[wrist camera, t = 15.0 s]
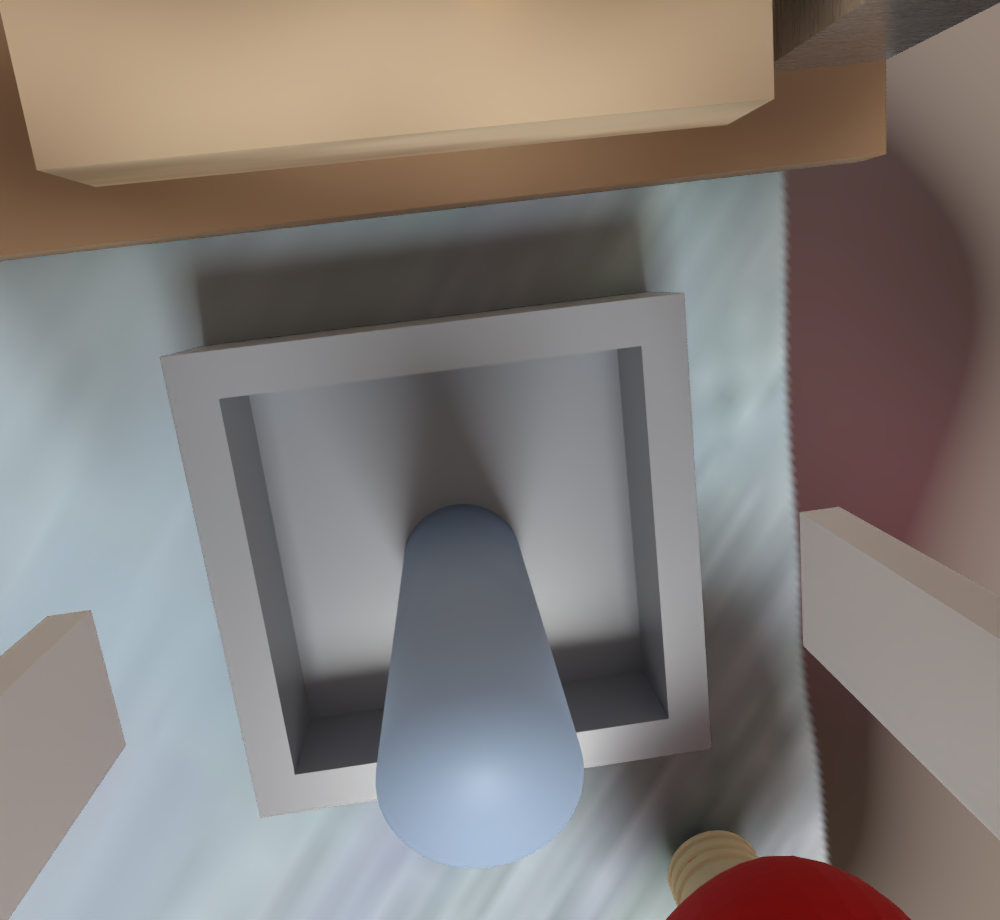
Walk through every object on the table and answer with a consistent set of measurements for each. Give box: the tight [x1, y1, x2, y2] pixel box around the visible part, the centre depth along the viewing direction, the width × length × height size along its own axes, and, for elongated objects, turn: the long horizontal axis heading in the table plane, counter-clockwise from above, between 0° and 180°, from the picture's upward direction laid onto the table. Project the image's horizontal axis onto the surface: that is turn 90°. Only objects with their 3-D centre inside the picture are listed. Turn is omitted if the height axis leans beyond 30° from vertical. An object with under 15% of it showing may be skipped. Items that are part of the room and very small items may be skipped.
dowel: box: [375, 504, 584, 868], centre depth 15 cm, size 3×3×9 cm
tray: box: [160, 292, 711, 818], centre depth 19 cm, size 11×11×3 cm
